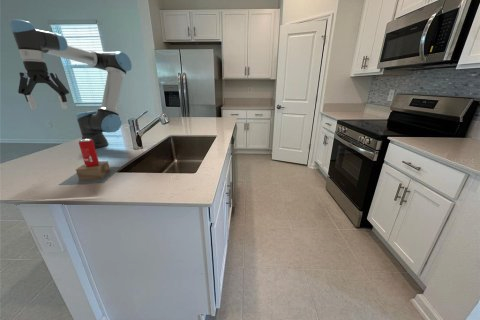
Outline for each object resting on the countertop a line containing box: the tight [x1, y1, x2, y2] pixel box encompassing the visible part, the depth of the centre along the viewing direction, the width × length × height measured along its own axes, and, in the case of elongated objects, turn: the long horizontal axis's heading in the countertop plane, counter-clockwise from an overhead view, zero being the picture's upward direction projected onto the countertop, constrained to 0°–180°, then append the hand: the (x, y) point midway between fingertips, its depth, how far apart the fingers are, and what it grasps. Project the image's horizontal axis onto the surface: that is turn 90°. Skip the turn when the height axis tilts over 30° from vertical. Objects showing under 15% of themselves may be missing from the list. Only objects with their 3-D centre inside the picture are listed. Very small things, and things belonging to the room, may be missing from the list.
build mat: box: [58, 166, 122, 186], centre depth 94 cm, size 18×18×1 cm
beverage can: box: [78, 138, 99, 167], centre depth 90 cm, size 5×5×12 cm
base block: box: [75, 160, 110, 180], centre depth 93 cm, size 9×9×5 cm
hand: (49, 109), depth 98 cm, fingers open, 13 cm apart
